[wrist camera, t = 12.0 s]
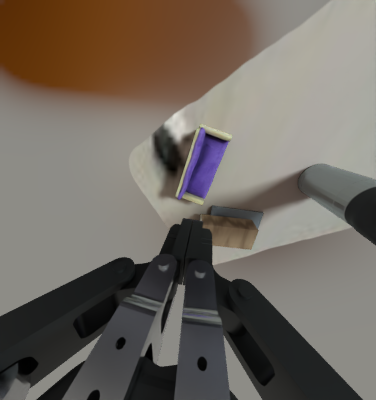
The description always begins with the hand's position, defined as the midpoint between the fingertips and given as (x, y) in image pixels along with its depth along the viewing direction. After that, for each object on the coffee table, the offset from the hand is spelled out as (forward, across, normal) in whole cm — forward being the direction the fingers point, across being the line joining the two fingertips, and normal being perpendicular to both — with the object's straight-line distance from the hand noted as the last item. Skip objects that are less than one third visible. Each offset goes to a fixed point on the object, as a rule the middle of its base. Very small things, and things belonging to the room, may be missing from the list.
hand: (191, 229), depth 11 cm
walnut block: (+32, 0, +24) cm, 40 cm away
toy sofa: (+38, +1, +3) cm, 38 cm away
